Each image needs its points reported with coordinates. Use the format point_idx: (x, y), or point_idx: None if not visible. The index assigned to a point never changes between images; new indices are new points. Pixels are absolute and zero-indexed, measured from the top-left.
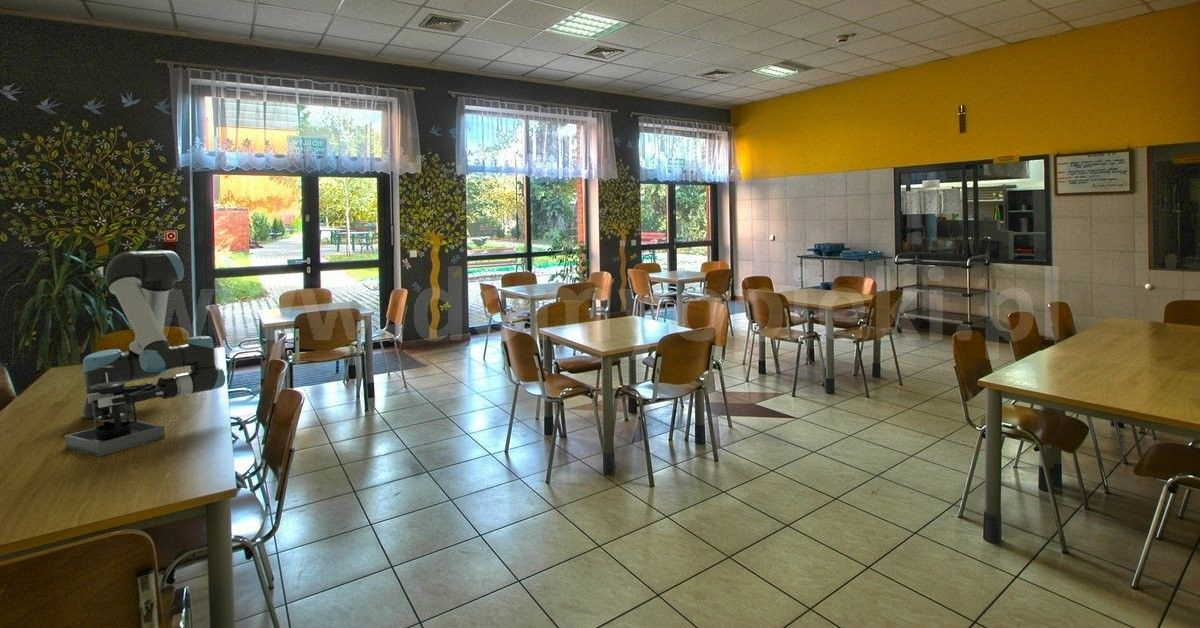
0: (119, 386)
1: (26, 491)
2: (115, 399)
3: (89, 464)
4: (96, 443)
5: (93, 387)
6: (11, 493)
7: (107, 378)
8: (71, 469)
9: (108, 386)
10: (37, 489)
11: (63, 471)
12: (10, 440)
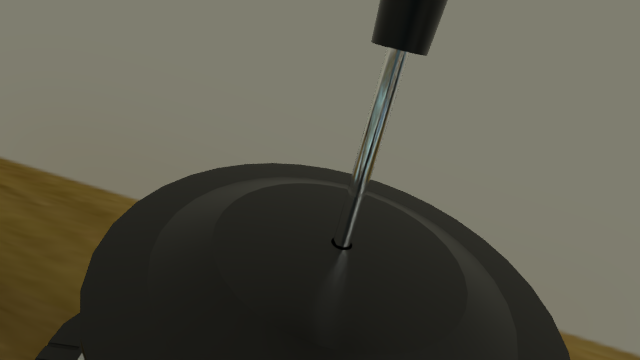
0: (80, 299)
1: (52, 193)
2: (62, 330)
3: (39, 332)
4: None
5: (336, 180)
6: (82, 185)
7: (358, 166)
8: (72, 286)
9: (200, 206)
10: (30, 201)
11: (86, 271)
12: (599, 344)
